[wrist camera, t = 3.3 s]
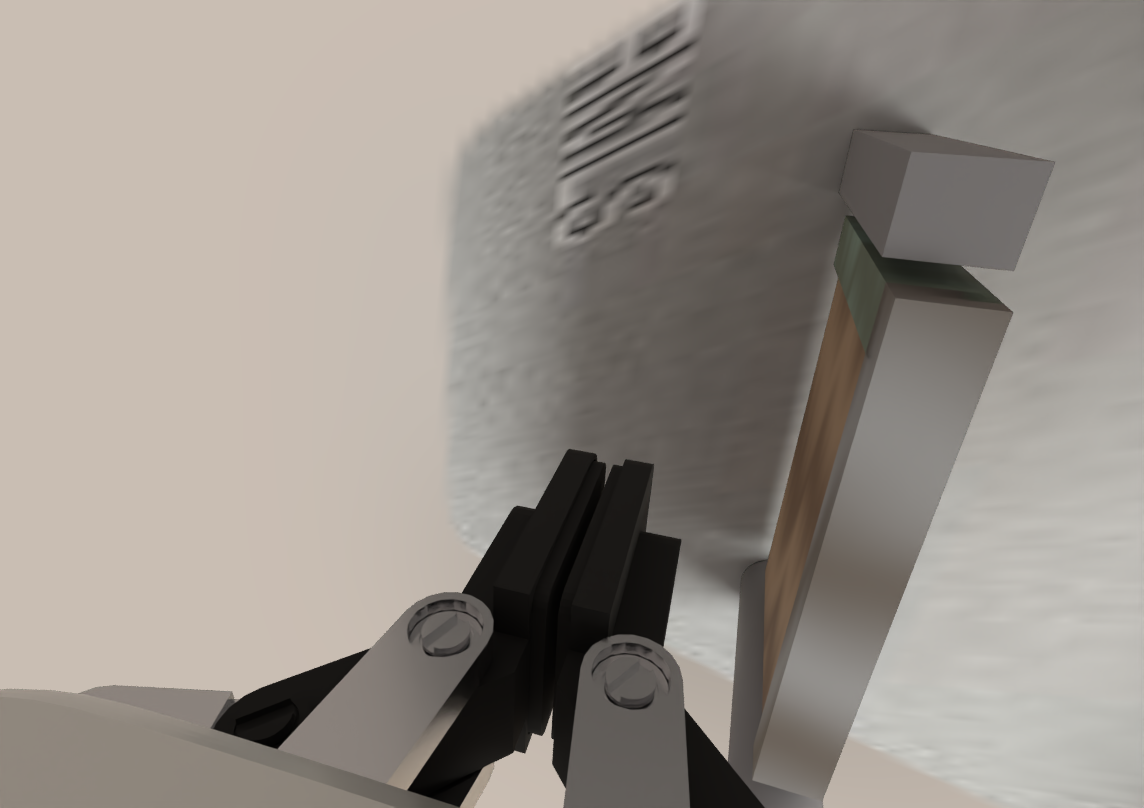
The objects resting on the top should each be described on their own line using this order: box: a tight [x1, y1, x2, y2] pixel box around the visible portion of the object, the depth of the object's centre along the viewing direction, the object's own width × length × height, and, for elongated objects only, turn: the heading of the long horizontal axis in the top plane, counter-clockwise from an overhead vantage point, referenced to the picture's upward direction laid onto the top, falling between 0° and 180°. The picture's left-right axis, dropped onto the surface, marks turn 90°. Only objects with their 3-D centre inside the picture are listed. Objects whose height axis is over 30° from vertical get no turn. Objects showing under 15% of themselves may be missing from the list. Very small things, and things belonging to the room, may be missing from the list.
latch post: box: [839, 130, 1055, 271], centre depth 16 cm, size 2×2×10 cm
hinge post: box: [728, 560, 823, 808], centre depth 24 cm, size 3×3×12 cm
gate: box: [752, 216, 1013, 801], centre depth 19 cm, size 15×2×10 cm, turn 177°
